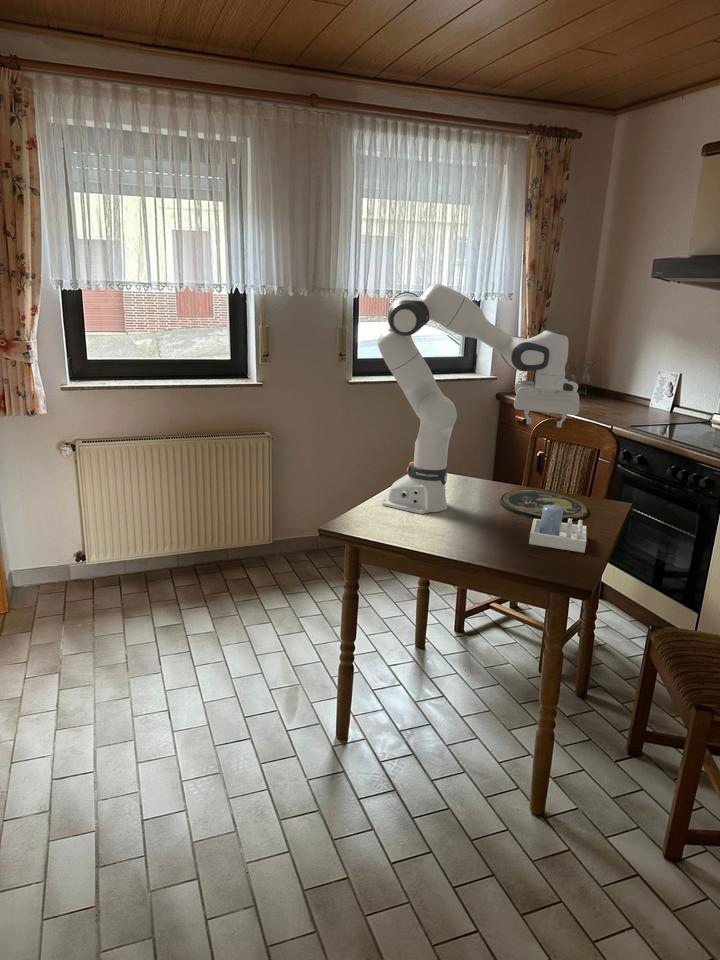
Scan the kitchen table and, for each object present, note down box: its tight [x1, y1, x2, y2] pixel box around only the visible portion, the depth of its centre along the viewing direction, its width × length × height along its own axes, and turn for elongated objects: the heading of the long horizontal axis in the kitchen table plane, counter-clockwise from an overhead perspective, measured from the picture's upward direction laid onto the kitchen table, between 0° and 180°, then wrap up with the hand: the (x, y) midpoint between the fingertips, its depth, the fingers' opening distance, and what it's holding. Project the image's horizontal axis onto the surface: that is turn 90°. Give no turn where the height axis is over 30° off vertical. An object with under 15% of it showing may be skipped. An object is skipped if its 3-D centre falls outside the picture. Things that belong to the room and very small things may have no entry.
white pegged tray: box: [528, 519, 587, 553], centre depth 204 cm, size 16×14×6 cm
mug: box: [539, 505, 563, 536], centre depth 204 cm, size 6×8×9 cm
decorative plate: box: [499, 489, 588, 522], centre depth 236 cm, size 30×2×30 cm
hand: (543, 425), depth 216 cm, fingers open, 8 cm apart
